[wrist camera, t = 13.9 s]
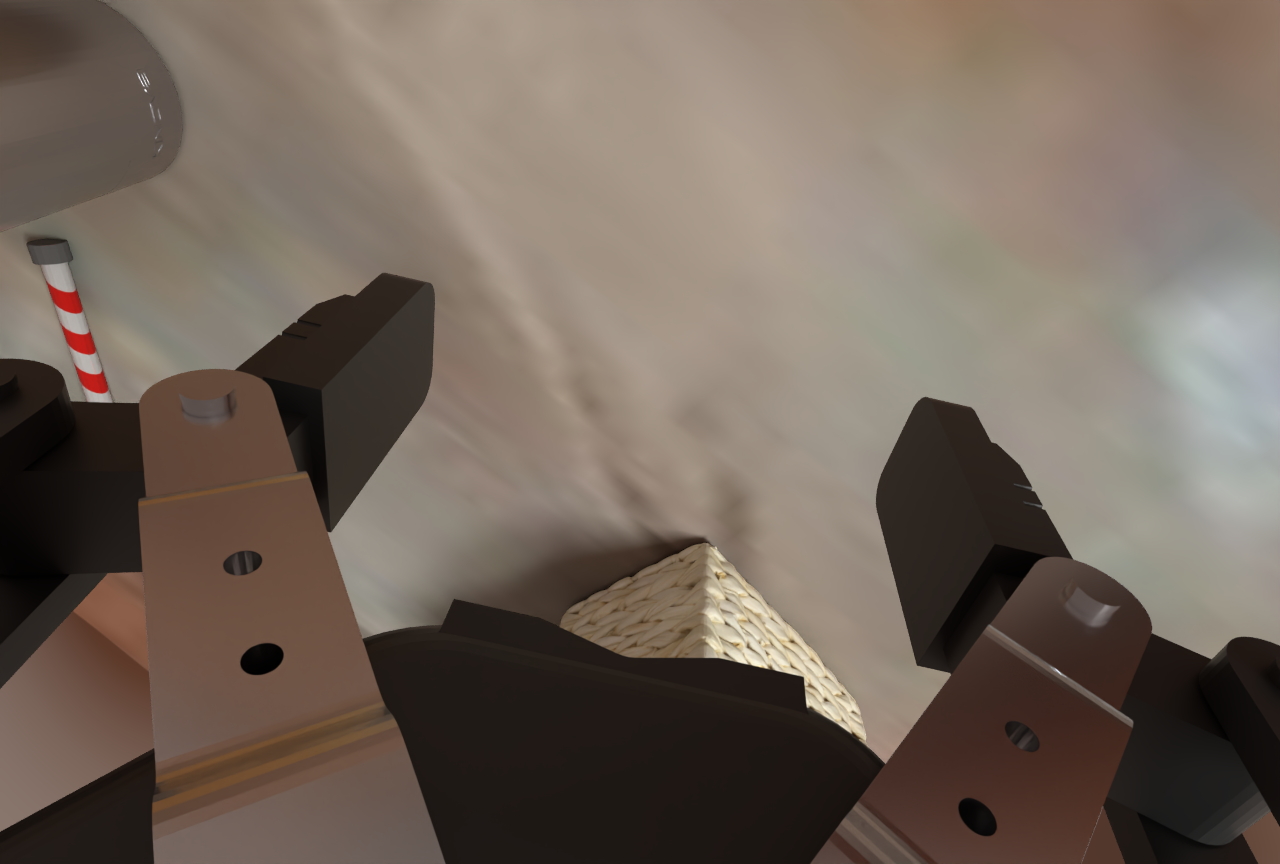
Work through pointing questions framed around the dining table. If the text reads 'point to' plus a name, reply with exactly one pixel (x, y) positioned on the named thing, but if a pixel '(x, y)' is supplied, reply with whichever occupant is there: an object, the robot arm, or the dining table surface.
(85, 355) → the toy hammer
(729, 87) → the dining table surface
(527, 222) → the dining table surface
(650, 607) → the storage basket
